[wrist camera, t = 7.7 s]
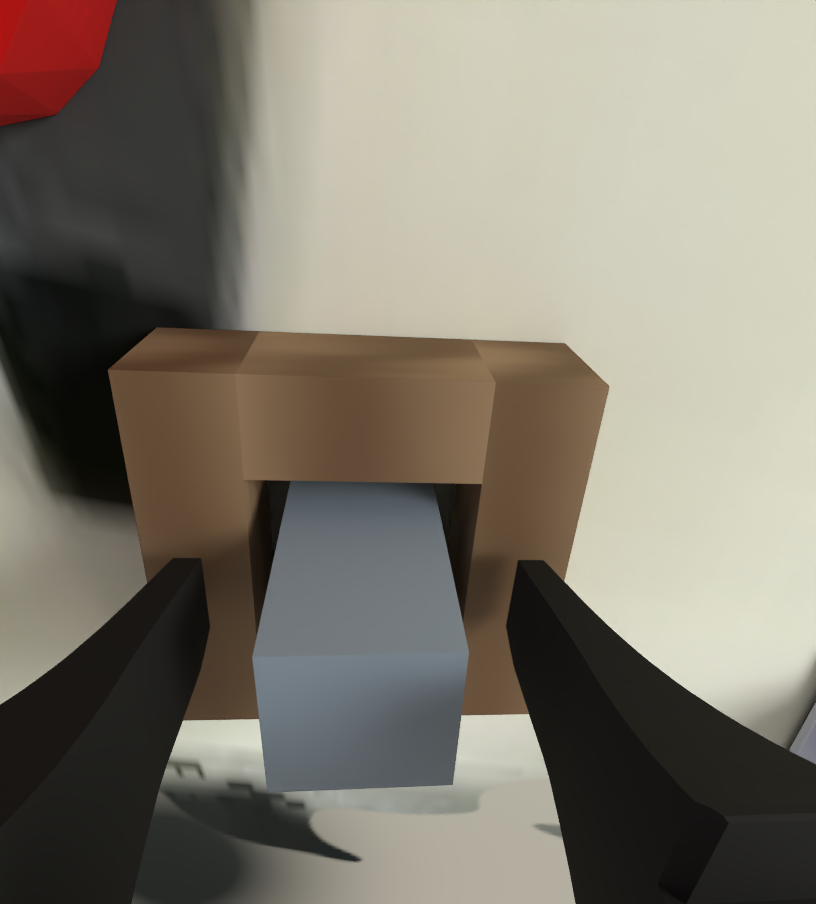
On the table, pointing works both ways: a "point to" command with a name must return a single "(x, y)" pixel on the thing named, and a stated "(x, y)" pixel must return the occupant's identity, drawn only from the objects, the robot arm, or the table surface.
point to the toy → (48, 53)
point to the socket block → (353, 468)
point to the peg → (360, 641)
